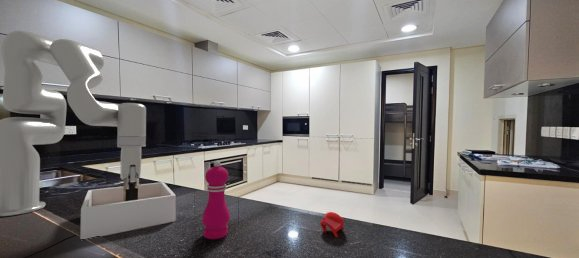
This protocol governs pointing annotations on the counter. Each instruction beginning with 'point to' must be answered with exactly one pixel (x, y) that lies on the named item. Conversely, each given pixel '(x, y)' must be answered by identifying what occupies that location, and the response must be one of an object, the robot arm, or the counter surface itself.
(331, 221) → the red toy chair
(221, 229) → the pepper mill
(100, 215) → the box
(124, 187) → the peg
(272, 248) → the counter surface
